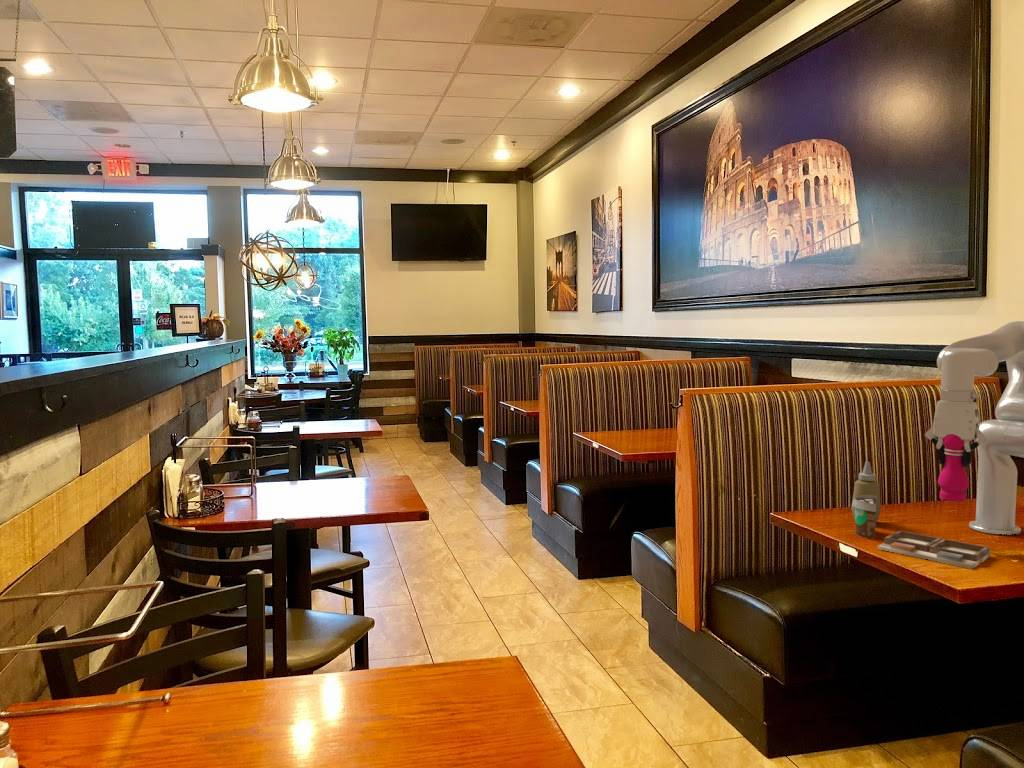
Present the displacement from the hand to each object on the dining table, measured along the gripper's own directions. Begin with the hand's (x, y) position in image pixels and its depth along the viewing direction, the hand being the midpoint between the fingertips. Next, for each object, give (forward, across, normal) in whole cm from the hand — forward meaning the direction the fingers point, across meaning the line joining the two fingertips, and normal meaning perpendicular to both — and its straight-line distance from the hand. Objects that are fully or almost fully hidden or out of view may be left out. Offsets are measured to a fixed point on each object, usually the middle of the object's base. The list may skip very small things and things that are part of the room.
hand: (954, 464), depth 205 cm
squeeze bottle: (+22, +25, -6) cm, 34 cm away
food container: (+22, +20, +8) cm, 31 cm away
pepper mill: (+10, 0, 0) cm, 10 cm away
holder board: (+21, 0, +13) cm, 25 cm away
